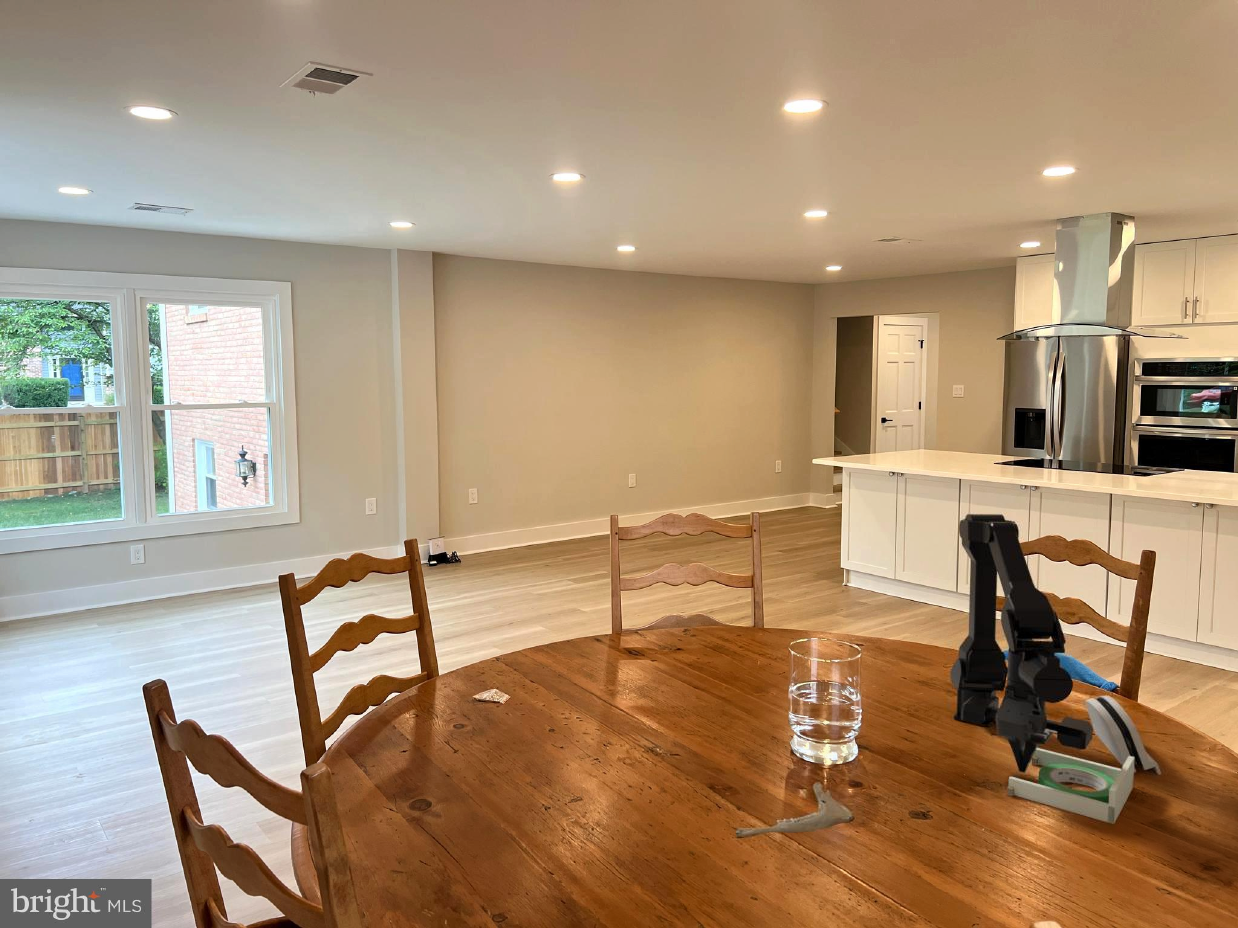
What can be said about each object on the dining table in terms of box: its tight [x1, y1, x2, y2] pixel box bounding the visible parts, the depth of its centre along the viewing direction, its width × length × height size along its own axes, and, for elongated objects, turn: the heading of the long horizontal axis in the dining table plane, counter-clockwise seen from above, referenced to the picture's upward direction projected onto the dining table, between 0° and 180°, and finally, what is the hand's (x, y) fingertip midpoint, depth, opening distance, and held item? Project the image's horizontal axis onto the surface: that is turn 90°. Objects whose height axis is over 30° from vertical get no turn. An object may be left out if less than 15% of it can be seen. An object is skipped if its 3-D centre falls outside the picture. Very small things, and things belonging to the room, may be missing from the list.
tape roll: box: [1037, 764, 1114, 804], centre depth 134 cm, size 11×11×3 cm
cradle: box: [1006, 747, 1135, 825], centre depth 134 cm, size 15×16×5 cm
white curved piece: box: [1084, 695, 1162, 775], centre depth 148 cm, size 17×5×10 cm, turn 168°
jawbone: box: [735, 781, 854, 838], centre depth 125 cm, size 9×20×2 cm, turn 132°
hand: (1022, 771), depth 139 cm, fingers closed
